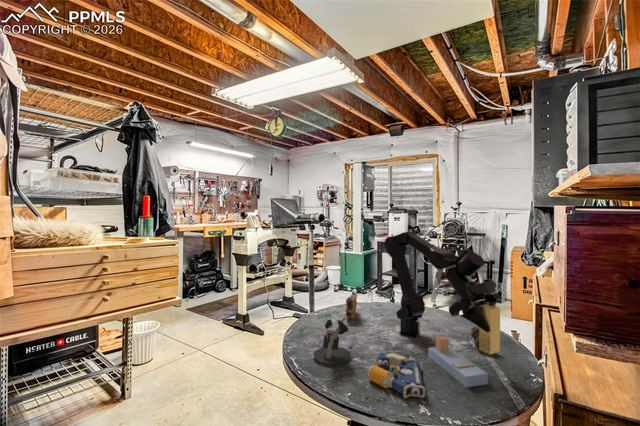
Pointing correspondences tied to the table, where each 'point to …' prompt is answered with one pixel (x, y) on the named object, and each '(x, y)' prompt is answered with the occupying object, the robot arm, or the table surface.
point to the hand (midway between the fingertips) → (494, 330)
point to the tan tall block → (491, 339)
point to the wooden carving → (351, 305)
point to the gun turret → (333, 346)
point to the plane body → (456, 364)
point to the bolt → (476, 337)
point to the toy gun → (398, 374)
